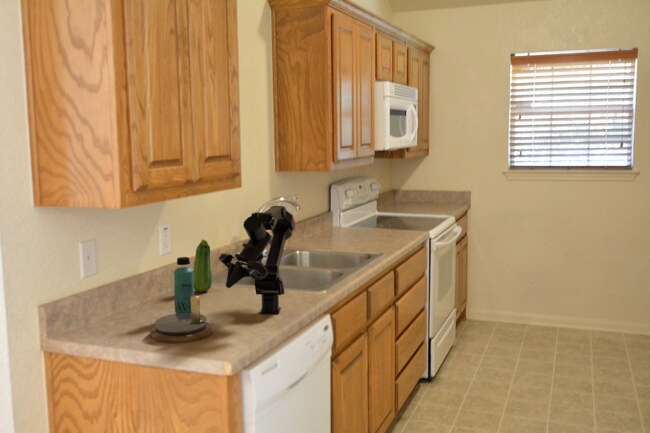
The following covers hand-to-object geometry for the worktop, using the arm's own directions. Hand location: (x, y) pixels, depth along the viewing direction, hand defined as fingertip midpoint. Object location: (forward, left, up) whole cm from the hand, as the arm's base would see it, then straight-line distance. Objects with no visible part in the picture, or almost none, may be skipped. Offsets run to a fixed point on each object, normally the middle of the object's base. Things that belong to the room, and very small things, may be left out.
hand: (227, 287), depth 205 cm
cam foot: (+5, -13, -11) cm, 18 cm away
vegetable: (-47, -18, -13) cm, 52 cm away
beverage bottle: (-12, -16, -13) cm, 24 cm away
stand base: (+5, -13, -13) cm, 19 cm away
